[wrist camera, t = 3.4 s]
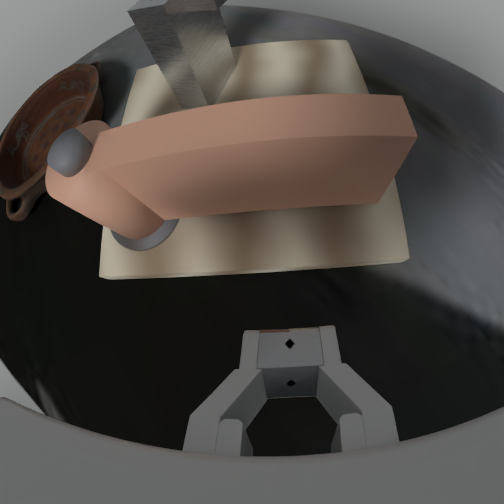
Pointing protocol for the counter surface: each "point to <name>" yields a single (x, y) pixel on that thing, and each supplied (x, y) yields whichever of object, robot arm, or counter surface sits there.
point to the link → (232, 159)
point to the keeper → (187, 46)
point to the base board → (267, 221)
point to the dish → (45, 132)
